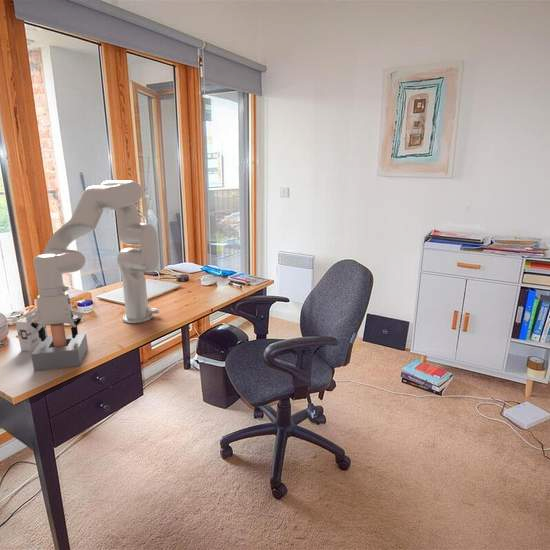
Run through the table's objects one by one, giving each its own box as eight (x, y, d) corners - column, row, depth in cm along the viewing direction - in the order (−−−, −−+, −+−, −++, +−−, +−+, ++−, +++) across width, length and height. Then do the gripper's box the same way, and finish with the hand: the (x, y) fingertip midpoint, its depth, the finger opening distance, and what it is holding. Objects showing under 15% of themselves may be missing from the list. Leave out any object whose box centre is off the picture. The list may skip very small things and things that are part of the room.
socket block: (88, 347, 146) (85, 332, 144) (80, 365, 133) (77, 349, 131) (46, 352, 142) (43, 337, 141) (34, 371, 129) (31, 354, 128)
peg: (70, 355, 140) (64, 321, 136) (67, 360, 136) (62, 325, 133) (57, 356, 139) (52, 322, 135) (54, 362, 135) (49, 327, 132)
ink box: (37, 341, 151) (31, 305, 148) (49, 342, 151) (43, 305, 147) (20, 351, 143) (13, 313, 139) (32, 352, 143) (25, 314, 139)
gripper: (82, 285, 137) (88, 331, 141) (26, 289, 132) (34, 336, 137) (77, 292, 130) (84, 339, 134) (18, 296, 125) (27, 345, 130)
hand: (59, 338), depth 136 cm, fingers open, 9 cm apart
